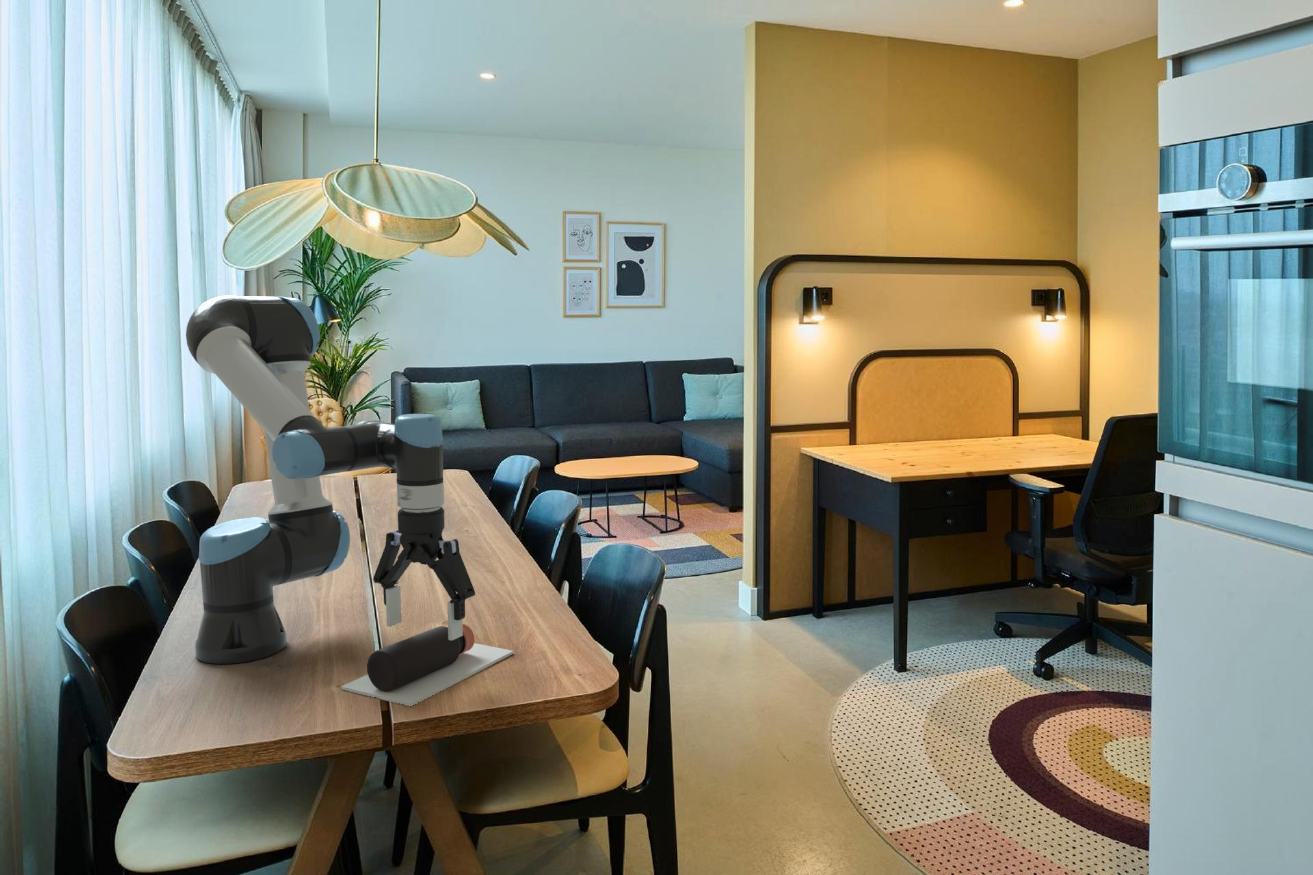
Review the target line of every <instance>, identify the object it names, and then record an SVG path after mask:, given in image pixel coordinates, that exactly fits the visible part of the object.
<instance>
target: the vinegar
mask: <svg viewBox="0 0 1313 875" xmlns="http://www.w3.org/2000/svg"><path fill="white" fill-rule="evenodd" d="M462 624H463V636H461V637H459V638H457V639H454V640H452V641H451V640H448V626H442V625H441V626H437V627H434V628H431V629H429V630H427V631H424V632H421V633H418V634H416V635H413V636H411V637H408V638H406V639H404V640H400V641H398V642H395V643H393V644H390V645H387V646H385V647H382V648H380V649H377V650H375V651H373V652H372V653H371V654H370V655H369V657H368V659H367V663H366V672H367V674H368V676H369V679H370V681H371V682H372V684H373V685H374V686H375V687H376V688H377V689H379V690H380V691H384V692H388V691H392V690H394V689H396V688H399V687H401V686H403V685H405V684H408V683H410V682H412V681H414V680H416V679H419V678H421V677H423V676H425V675H428V674H430V673H432V672H434V671H437V670H439V669H441V668H443V667H446V666H448V665H450V664H452V663H453V662H455V661H456V660H457V658H458V656H459V654H462V653H464V652H466V651H468V650H470V649H471V648H472V647H473V645H474V643H475V640H476V639H475V634H474V631H473V630H472V629H471V627H470V626H469V625H467V624H464V623H462Z"/></svg>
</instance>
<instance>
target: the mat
mask: <svg viewBox="0 0 1313 875" xmlns="http://www.w3.org/2000/svg"><path fill="white" fill-rule="evenodd" d="M513 654H514V650H511V649H507V648H506V649H505V648H501V647H496V646H491V645H486V644H480V643H475V642H474V645H473V647H472V648H471V649H470V650H468V651H466V652H464V653H462V654H459V656H458V658H457V660H456V661H455V662H453V663H452V664H450V665H448V666H446V667H443V668H441V669H439V670H437V671H434V672H432V673H430V674H428V675H425V676H423V677H421V678H419V679H416V680H414V681H412V682H410V683H408V684H405V685H403V686H401V687H399V688H396V689H394V690H392V691H388V692H384V691H380V690H379V689H377V688H376V687H375V686H374V685H373V684H372V682H371V681H370V679H369V676H368V673H367V674H365V675H363V676H361V677H358V678H357V679H354V680H352V681H351V682H347V683H345V684H343V685H341V686H340V690H343V691H347V692H350V693H355V694H358V695H363V696H366V695H367V697H370V696H371V697H370V698H374V697H378V698H379V700H382V701H386V702H390V703H394V704H399V703H400V704H399V705H402V704H405V705H404V706H406V705H408V706H407V707H410V706H412V707H414V706H416V705H417V704H419V703H421V702H423V701H425V700H427V699H429V698H430V697H433V696H435V695H436V693H437V694H438V693H441V692H443V691H444V690H447V689H448V688H450V687H452V686H454V685H456V684H459V682H462V681H464V680H465V679H467V678H469V677H471V676H473V675H475V674H477V673H479V672H481V671H483V670H485V669H486V668H488V667H490V666H492V665H495V664H496V663H498V662H500V661H502V660H504V659H506V658H508V657H510V656H512V655H513ZM440 691H441V692H440ZM432 695H433V696H432ZM428 697H429V698H428ZM378 698H377V699H378ZM424 699H425V700H424ZM422 700H423V701H422ZM420 701H421V702H420ZM418 702H419V703H418ZM415 704H416V705H415ZM413 705H414V706H413Z"/></svg>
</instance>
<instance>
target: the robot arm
mask: <svg viewBox="0 0 1313 875" xmlns="http://www.w3.org/2000/svg"><path fill="white" fill-rule="evenodd" d="M320 332H321V331H320V327H319V324H318V320H317V318H316V316H315V314H314V312H313V310H312V309H311V307H309V305H307V304H306V303H305V302H304V301H303V300H301V299H298V298H296V297H285V296H280V295H274V296H272V295H271V296H269V295H268V296H262V295H261V296H258V295H257V296H256V295H255V296H252V295H251V296H250V295H249V296H247V295H246V296H243V295H240V296H239V295H238V296H237V295H221V296H216V297H212V298H210V299H208V300H206V301H204V302H203V303H201V304H200V305H199V306H198V307H197V308H196V309H194V311H193V312H192V314H191V316H190V317H189V320H188V322H187V325H186V329H185V338H186V339H185V340H186V345H187V348H188V351H189V353H190V354H191V357H192V358H193V359H194V361H195V362H196V363H197V364H198V366H200V368H201V369H203V370H204V371H205V372H208V373H209V374H212V375H213V374H214V375H215V376H216V377H217V378H218V379H219V380H220V381H221V382H222V384H223V385H224V386H225V387H226V388H227V389H228V391H230V393H231V394H232V395H233V396H234V397H235V398H236V400H237V401H238V402H239V403H240V404H241V405H242V407H243V408H244V409H245V410H246V411H247V412H248V413H249V415H250V416H251V417H252V418H253V419H254V420H255V421H256V423H257V424H258V425H259V427H261V429H262V430H263V434H264V440H265V445H266V453H267V459H268V465H269V466H268V467H269V472H270V480H271V484H272V485H271V486H272V492H273V498H274V499H273V500H274V503H273V506H272V507H271V508H270V509H269V510H268V512H267V515H268V516H267V518H268V519H266V518H264V517H259V516H252V517H250V516H249V517H244V518H235V519H231V520H227V521H223V522H221V523H219V524H216V525H214V526H210V528H207V529H206V531H205V530H204V532H203V533H202V535H201V536H200V538H199V547H198V548H199V549H198V550H199V552H198V553H199V554H198V561H199V568H200V579H201V580H200V581H201V593H202V594H201V595H202V604H203V605H202V606H203V615H202V618H201V621H200V625H199V630H198V635H197V638H196V640H195V643H194V645H195V646H194V648H195V649H194V650H195V657H196V659H197V660H198V661H201V662H204V663H208V664H214V665H215V664H216V665H217V664H218V665H227V664H239V663H245V662H246V663H247V662H251V661H256V660H260V659H263V658H266V657H270V656H273V655H274V654H277V653H279V652H281V651H282V650H283V649H284V648H285V647H286V646H287V632H286V629H285V627H284V625H283V622H282V619H281V618H280V615H279V613H278V611H277V608H276V605H275V603H274V588H273V587H276V586H279V585H283V584H288V583H292V582H296V581H299V580H304V579H308V578H312V577H314V578H315V577H320V576H323V575H325V574H328V573H332V572H334V571H336V570H338V569H339V568H340V567H342V565H343V564H344V562H345V561H346V559H347V557H348V554H349V551H350V545H351V534H350V528H349V524H348V522H347V521H345V520H346V519H345V517H344V515H342V514H341V513H339V512H338V511H335V510H334V507H333V502H331V500H329V499H327V498H326V497H325V496H323V493H322V492H323V491H322V485H321V484H322V483H321V478H320V477H321V476H322V477H323V476H327V475H329V476H330V475H334V474H339V473H345V472H354V471H360V470H365V469H373V468H387V469H388V468H389V469H394V470H395V471H396V496H397V497H396V498H397V507H398V508H399V509H398V511H397V529H398V530H394V531H390V532H387V533H386V534H385V546H384V548H383V551H382V553H381V556H380V559H379V562H378V565H377V566H376V570H375V572H374V575H373V578H372V580H373V582H374V583H375V584H380V586H381V587H382V590H383V592H382V593H383V603H384V606H385V610H386V627H388V628H389V627H393V626H395V625H398V624H400V623H402V600H401V599H402V597H401V596H402V594H401V585H398V584H399V583H400V582H399V580H400V579H401V578H402V576H403V575H404V573H405V572H406V570H407V569H408V568H409V566H410V565H411V564H412V563H414V564H415V563H417V564H418V563H419V564H421V565H427V566H428V568H429V569H431V570H433V572H434V574H435V575H436V577H437V579H438V580H439V581H440V583H441V585H442V587H443V588H444V590H445V591H446V593H447V595H448V596H449V598H450V599H451V600H448V601H447V627H448V640H451V641H452V640H454V639H457V638H459V637H461V636H463V624H464V623H463V619H465V617H466V600H467V599H470V598H473V597H474V596H475V595H476V590H475V588H474V585H473V583H472V581H471V578H470V575H469V572H468V571H467V567H466V565H465V562H464V560H463V557H462V556H461V553H460V546H459V545H460V544H459V540H458V538H457V539H456V538H453V539H450V540H444V539H443V531H444V529H445V526H446V524H445V509H444V507H442V506H443V505H444V504H445V491H444V490H445V489H444V487H445V486H444V447H443V446H444V445H443V444H444V437H443V429H442V428H443V427H442V420H441V418H440V417H439V416H438V415H435V414H432V413H431V414H430V413H425V414H424V413H407V414H400V415H398V416H397V417H396V418H395V420H394V423H393V422H392V423H391V422H385V421H381V420H376V419H375V420H362V421H359V422H357V423H356V424H352V425H346V426H345V425H343V426H333V427H326V426H324V424H322V422H321V421H320V420H319V419H318V418H316V417H315V416H314V414H313V413H312V412H311V411H310V406H309V399H308V392H307V385H306V377H305V373H306V371H307V370H308V369H309V367H311V365H312V364H311V363H312V362H311V357H312V356H313V355H314V354H316V352H317V351H318V349H319V342H320V339H321V335H320V334H321V333H320ZM401 546H402V548H403V549H402V551H401V552H400V553H399V551H400V548H401ZM398 553H399V554H398ZM396 558H397V560H396Z"/></svg>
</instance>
